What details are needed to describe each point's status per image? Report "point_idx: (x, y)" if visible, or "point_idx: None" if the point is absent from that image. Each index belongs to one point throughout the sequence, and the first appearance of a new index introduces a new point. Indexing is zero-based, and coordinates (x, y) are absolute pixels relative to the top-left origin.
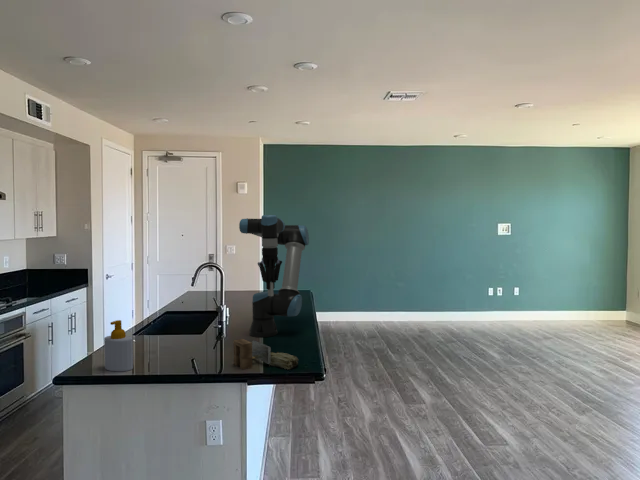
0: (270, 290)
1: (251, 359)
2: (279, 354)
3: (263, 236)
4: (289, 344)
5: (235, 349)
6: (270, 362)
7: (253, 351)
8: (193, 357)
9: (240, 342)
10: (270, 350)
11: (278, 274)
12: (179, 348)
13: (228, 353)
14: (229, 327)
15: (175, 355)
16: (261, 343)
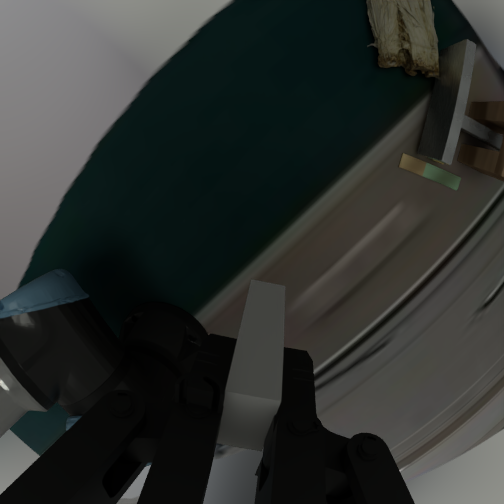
0: (283, 329)
1: (486, 103)
2: (423, 24)
3: None
4: (189, 180)
5: None
6: (442, 50)
7: (466, 123)
8: (473, 316)
9: None
10: (461, 41)
11: (50, 461)
12: (420, 396)
13: (409, 273)
14: None
15: (471, 358)
16: (457, 102)
